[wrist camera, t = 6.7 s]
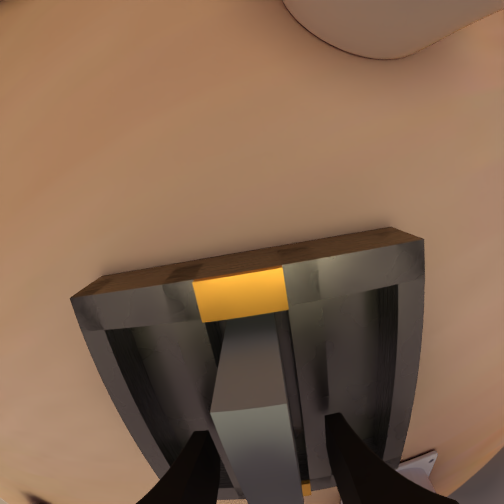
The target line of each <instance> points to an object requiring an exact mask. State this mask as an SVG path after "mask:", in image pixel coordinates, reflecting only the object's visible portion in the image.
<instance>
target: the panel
mask: <svg viewBox="0 0 504 504" xmlns="http://www.w3.org/2000/svg"><path fill="white" fill-rule="evenodd" d="M210 414H211V417H212V419H213V422H214V425H215V427H216V430H217V432H218V435H219V437H220V440H221V442H222V445H223V447H224V450H225V452H226V455H227V457H228V459H229V462H230V464H231V466H232V469H233V471H234V473H235V476H236V478H237V480H238V482H239V485H240V487H241V489H242V491H243V493H244V495H245V498H246V500H247V502H248V504H304V499H303V492H302V485H301V478H300V471H299V463H298V456H297V450H296V443H295V437H294V430H293V424H292V418H291V412H290V406H289V400H288V394H287V388H286V382H285V376H284V370H283V364H282V358H281V352H280V346H279V340H278V335H277V329H276V323H275V317H274V312H272V313H266V314H260V315H254V316H247V317H240V318H234V319H227V323H226V328H225V333H224V339H223V344H222V350H221V355H220V360H219V366H218V371H217V377H216V382H215V388H214V393H213V399H212V404H211V410H210Z"/></svg>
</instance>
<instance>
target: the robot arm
mask: <svg viewBox="0 0 504 504" xmlns="http://www.w3.org/2000/svg"><path fill="white" fill-rule="evenodd" d="M324 416H325V437H326V449H327V453H328V458H329V463H330V467H331V470H332V473H333V476H334V479H335V482H336V485H337V488H338V491H339V494H340V497H341V503H340V504H459V503H458V502H457V501H456V500H453V499H450V498H447V497H444V496H442V495H439V494H436V492H435V490H434V488H433V486H432V484H431V482H430V480H429V478H428V477H429V475H430V472H431V470H432V468H433V465H434V463H435V461H436V458H437V456H438V453H437V452H436V451H432V452H429V453H427V454H424V455H422V456H419V457H417V458H414V459H411V460H409V461H406V462H403V463H400V464H399V467H398V469H396V470H394V469H393V468H392V467H390V466H389V465H388V464H386V463H385V462H384V461H383V460H382V459H381V458H380V457H378V456H377V455H376V454H375V453H374V452H373V451H372V450H371V449H370V448H369V447H368V446H367V445H366V444H365V443H364V442H363V441H362V440H361V438H360V437H359V436H358V435H357V434H356V433H355V431H354V430H353V429H352V428H351V426H350V425H349V424H348V422H347V421H346V419H345V418H344V416H343V415H342V413H340V412H338V413H334V414H329V415H324ZM219 483H220V456H219V454H218V452H217V449H216V447H215V445H214V442H213V440H212V437H211V435H210V432H209V430H205V431H194V432H193V433H192V435H191V437H190V438H189V440H188V442H187V443H186V445H185V446H184V448H183V449H182V451H181V453H180V454H179V456H178V457H177V458H176V460H175V461H174V463H173V464H172V465H171V467H170V468H169V469H168V471H167V472H166V473H165V474H164V476H163V477H162V478H161V479H160V481H159V482H158V483H157V484H156V485H155V486H154V487H153V488H152V489H151V490H150V491H149V492H148V493H147V494H146V495H145V496H144V497H143V498H142V499H141V500H140V501H138V502H137V503H136V504H216V502H217V496H218V490H219Z"/></svg>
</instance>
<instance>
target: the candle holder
mask: <svg viewBox="0 0 504 504" xmlns="http://www.w3.org/2000/svg"><path fill="white" fill-rule="evenodd" d="M282 1H283V3H284V4H285V6H286V8H287V9H288V10H289V12H290V13H291V14H292V15H293V17H294V18H295V19H296V20H297V21H298V22H299V23H300V24H301V25H302V26H304V27H305V28H306V29H307V30H308V31H310V32H311V33H313V34H314V35H315V36H317V37H318V38H320V39H322V40H323V41H325V42H327V43H329V44H331V45H333V46H335V47H337V48H339V49H341V50H344V51H346V52H349V53H352V54H355V55H359V56H363V57H368V58H374V59H397V58H402V57H406V56H409V55H412V54H414V53H416V52H418V51H420V50H422V49H424V48H426V47H428V46H430V45H432V44H434V43H436V42H438V41H440V40H441V39H443V38H445V37H447V36H449V35H451V34H453V33H455V32H457V31H459V30H461V29H463V28H465V27H467V26H469V25H471V24H473V23H475V22H477V21H479V20H481V19H483V18H485V17H488V16H490V15H492V14H494V13H496V12H499V11H501V10H503V9H504V0H282Z"/></svg>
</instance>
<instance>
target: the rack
mask: <svg viewBox="0 0 504 504" xmlns="http://www.w3.org/2000/svg"><path fill="white" fill-rule="evenodd" d="M424 285H425V260H424V239H422V238H420V237H417V236H414V235H412V234H409V233H406V232H404V231H401V230H398V229H396V228H393V227H388V228H382V229H376V230H370V231H364V232H358V233H352V234H346V235H340V236H334V237H328V238H323V239H317V240H311V241H305V242H299V243H293V244H287V245H281V246H276V247H270V248H264V249H258V250H252V251H246V252H240V253H234V254H229V255H223V256H217V257H211V258H205V259H199V260H194V261H188V262H182V263H176V264H170V265H164V266H159V267H153V268H147V269H141V270H135V271H129V272H124V273H118V274H112V275H106V276H101V277H100V278H98V279H97V280H95V281H94V282H92V283H91V284H89V285H88V286H86V287H85V288H84V289H82V290H81V291H79V292H78V293H76V294H75V295H73V296H72V297H71V298H70V300H71V303H72V306H73V309H74V312H75V315H76V318H77V320H78V323H79V326H80V329H81V331H82V334H83V336H84V339H85V341H86V344H87V346H88V349H89V351H90V354H91V356H92V358H93V361H94V363H95V365H96V367H97V370H98V372H99V374H100V376H101V378H102V381H103V383H104V385H105V387H106V389H107V391H108V393H109V395H110V397H111V399H112V401H113V403H114V405H115V407H116V409H117V411H118V412H119V414H120V416H121V418H122V420H123V422H124V423H125V425H126V427H127V429H128V430H129V432H130V434H131V436H132V437H133V439H134V441H135V442H136V444H137V446H138V447H139V449H140V450H141V452H142V454H143V455H144V457H145V458H146V460H147V461H148V463H149V464H150V466H151V467H152V469H153V470H154V472H155V473H156V475H157V476H158V478H159V479H161V478H162V477H163V476H164V474H165V473H166V472H167V471H168V469H169V468H170V467H171V465H172V464H173V463H174V461H175V460H176V458H177V457H178V456H179V454H180V453H181V451H182V449H183V448H184V446H185V445H186V443H187V442H188V440H189V438H190V437H191V435H192V433H193V432H194V431H205V430H209V432H210V435H211V437H212V440H213V442H214V445H215V447H216V449H217V452H218V454H219V456H220V483H219V490H218V496H217V500H231V499H246V498H245V495H244V493H243V491H242V489H241V487H240V485H239V482H238V480H237V478H236V476H235V473H234V471H233V469H232V466H231V464H230V462H229V459H228V457H227V455H226V452H225V450H224V447H223V445H222V442H221V440H220V437H219V435H218V432H217V430H216V427H215V425H214V422H213V419H212V417H211V414H210V410H211V404H212V399H213V393H214V388H215V382H216V377H217V371H218V366H219V360H220V355H221V350H222V344H223V339H224V333H225V328H226V323H227V319H234V318H240V317H247V316H254V315H260V314H266V313H272V312H274V317H275V323H276V329H277V335H278V340H279V346H280V352H281V358H282V364H283V370H284V376H285V382H286V388H287V394H288V400H289V406H290V412H291V418H292V424H293V430H294V437H295V443H296V450H297V456H298V463H299V471H300V478H301V485H302V492H303V496H309V495H311V491H315V490H320V489H326V488H330V487H335V486H337V485H336V482H335V479H334V476H333V473H332V470H331V467H330V463H329V458H328V453H327V449H326V437H325V416H324V415H329V414H334V413H338V412H340V413H342V415H343V416H344V418H345V419H346V421H347V422H348V424H349V425H350V426H351V428H352V429H353V430H354V431H355V433H356V434H357V435H358V436H359V437H360V438H361V440H362V441H363V442H364V443H365V444H366V445H367V446H368V447H369V448H370V449H371V450H372V451H373V452H374V453H375V454H376V455H377V456H378V457H380V458H381V459H382V460H383V461H384V462H385V463H386V464H388V465H389V466H390V467H392V468H393V469H394V470H396V469H398V467H399V463H400V459H401V456H402V452H403V448H404V444H405V440H406V436H407V431H408V427H409V422H410V417H411V412H412V407H413V401H414V396H415V389H416V383H417V376H418V369H419V361H420V352H421V341H422V329H423V314H424Z"/></svg>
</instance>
